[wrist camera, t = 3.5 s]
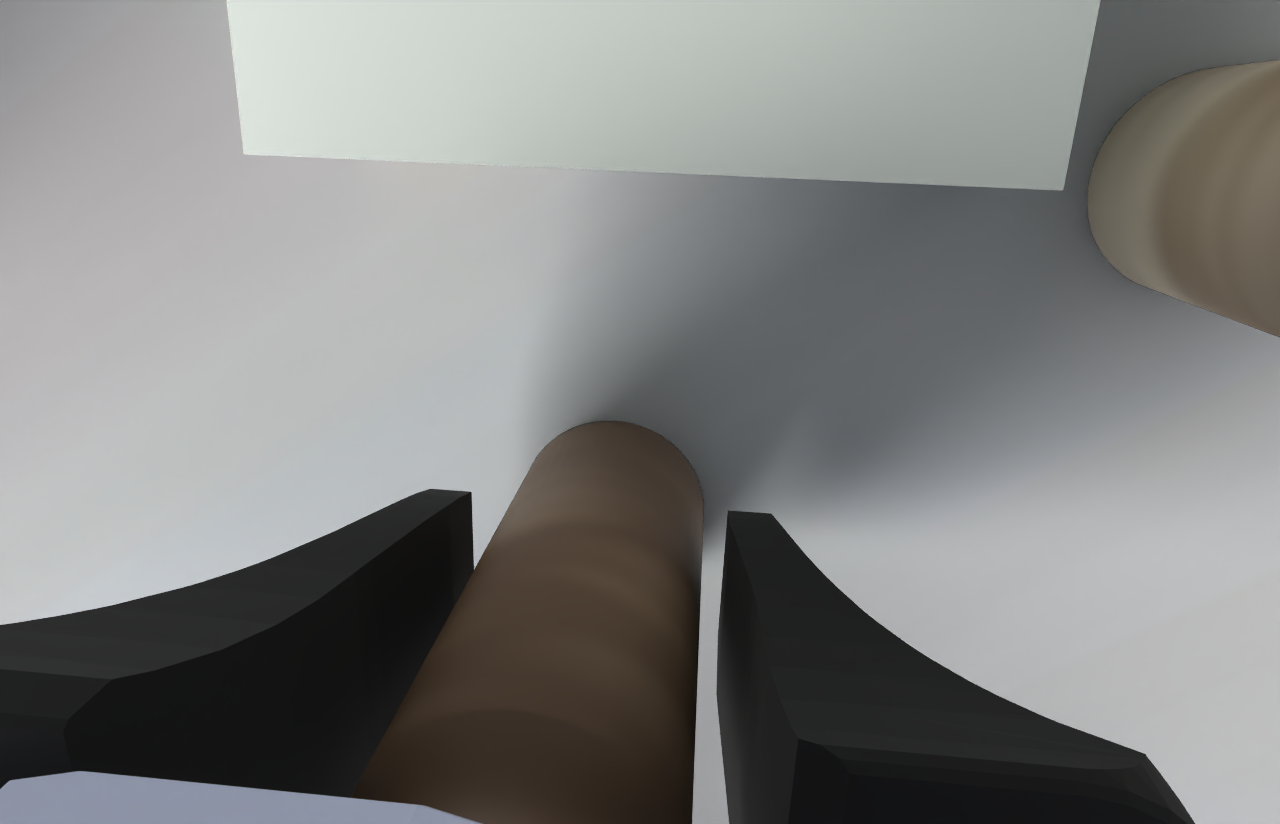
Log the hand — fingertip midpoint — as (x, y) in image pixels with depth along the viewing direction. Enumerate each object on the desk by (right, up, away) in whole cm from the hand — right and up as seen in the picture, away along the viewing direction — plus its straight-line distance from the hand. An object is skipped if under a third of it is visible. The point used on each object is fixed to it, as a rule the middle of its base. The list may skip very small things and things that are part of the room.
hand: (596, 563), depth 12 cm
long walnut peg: (0, +1, +2) cm, 2 cm away
